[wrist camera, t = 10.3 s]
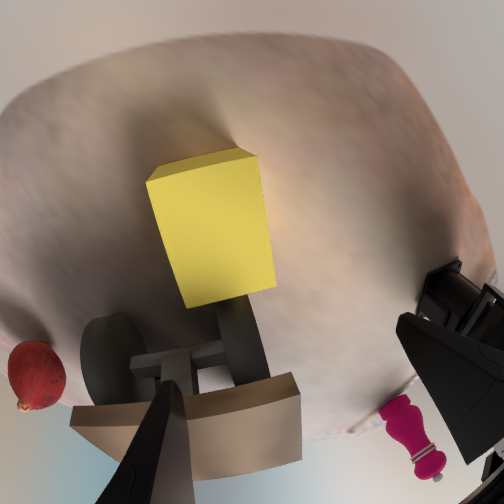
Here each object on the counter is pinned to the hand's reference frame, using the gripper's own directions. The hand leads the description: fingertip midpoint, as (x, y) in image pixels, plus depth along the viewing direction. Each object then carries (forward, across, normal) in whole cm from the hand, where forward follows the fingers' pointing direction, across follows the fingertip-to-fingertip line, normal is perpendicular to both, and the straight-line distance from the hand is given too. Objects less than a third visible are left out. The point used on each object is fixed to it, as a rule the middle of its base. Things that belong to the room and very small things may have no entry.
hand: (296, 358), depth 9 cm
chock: (+11, +2, -3) cm, 11 cm away
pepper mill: (+11, -22, +40) cm, 47 cm away
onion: (+11, +20, +6) cm, 24 cm away
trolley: (+11, +6, +10) cm, 16 cm away
